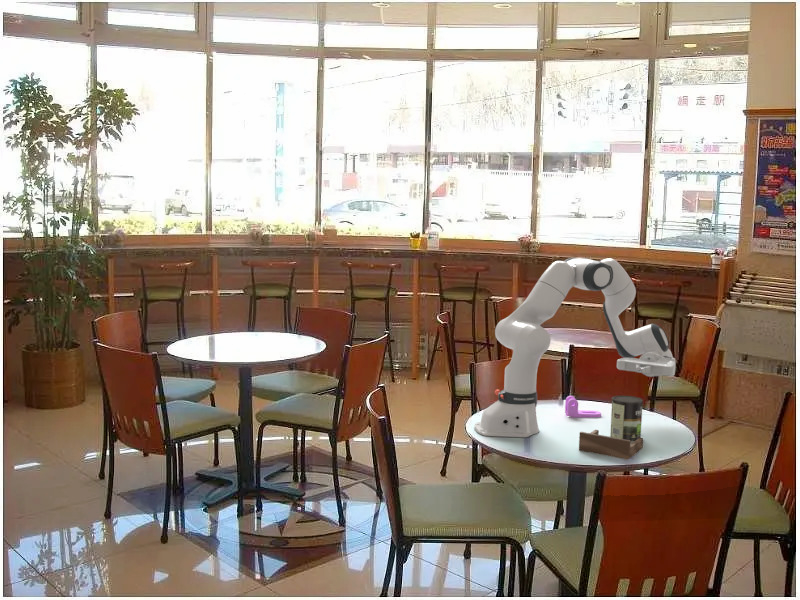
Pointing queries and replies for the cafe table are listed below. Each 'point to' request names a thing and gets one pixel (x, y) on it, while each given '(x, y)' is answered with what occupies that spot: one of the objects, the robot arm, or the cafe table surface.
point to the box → (609, 445)
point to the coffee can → (626, 417)
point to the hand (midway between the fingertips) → (639, 370)
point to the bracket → (573, 411)
